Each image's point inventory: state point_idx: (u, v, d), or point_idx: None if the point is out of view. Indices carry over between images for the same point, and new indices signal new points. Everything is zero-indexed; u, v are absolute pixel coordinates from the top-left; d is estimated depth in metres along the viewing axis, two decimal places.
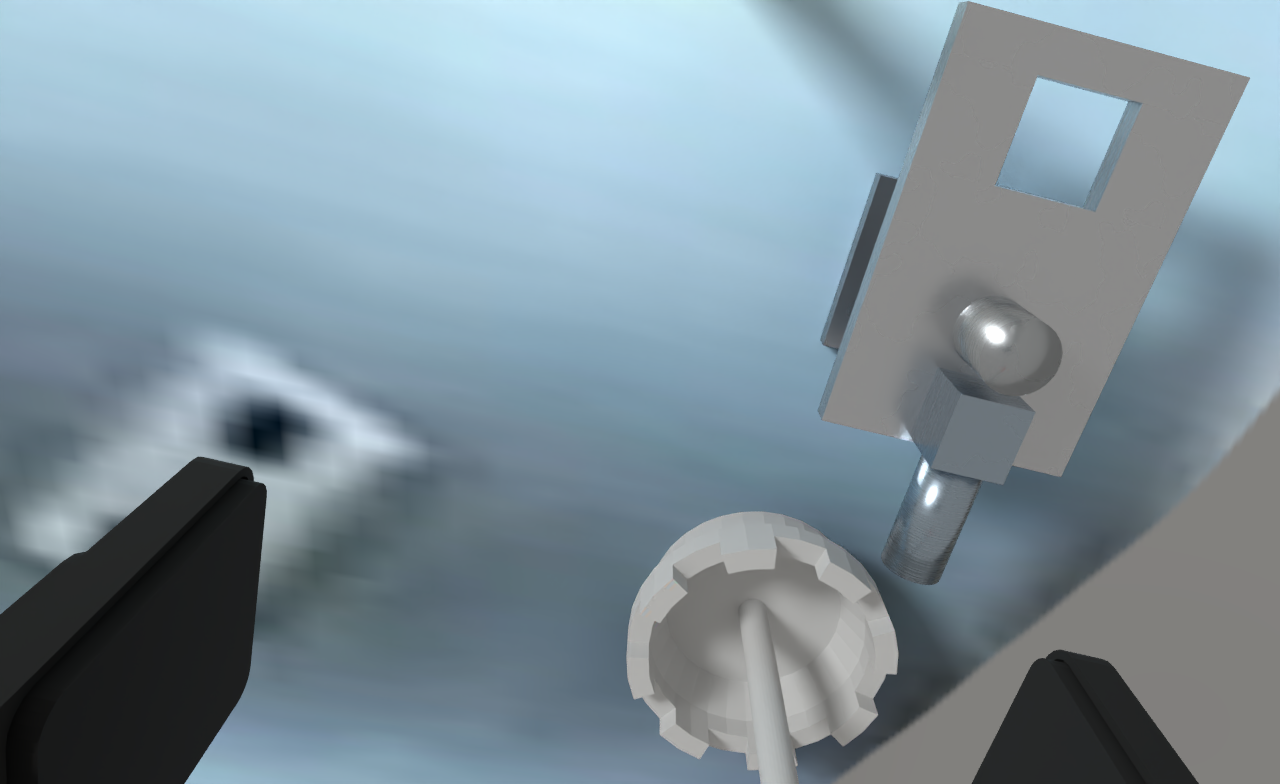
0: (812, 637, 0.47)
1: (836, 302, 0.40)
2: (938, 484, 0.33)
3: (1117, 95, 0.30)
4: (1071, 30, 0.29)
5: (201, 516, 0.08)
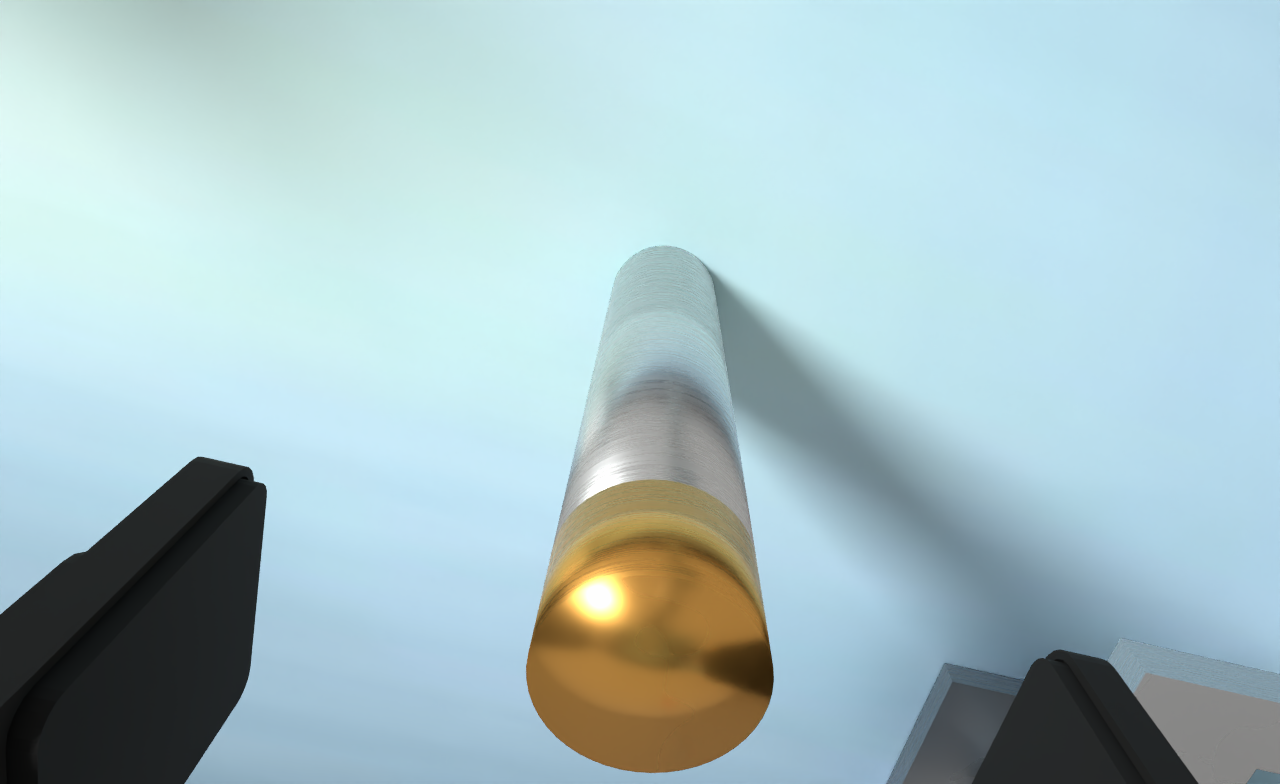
0: None
1: None
2: None
3: None
4: None
5: (201, 516, 0.08)
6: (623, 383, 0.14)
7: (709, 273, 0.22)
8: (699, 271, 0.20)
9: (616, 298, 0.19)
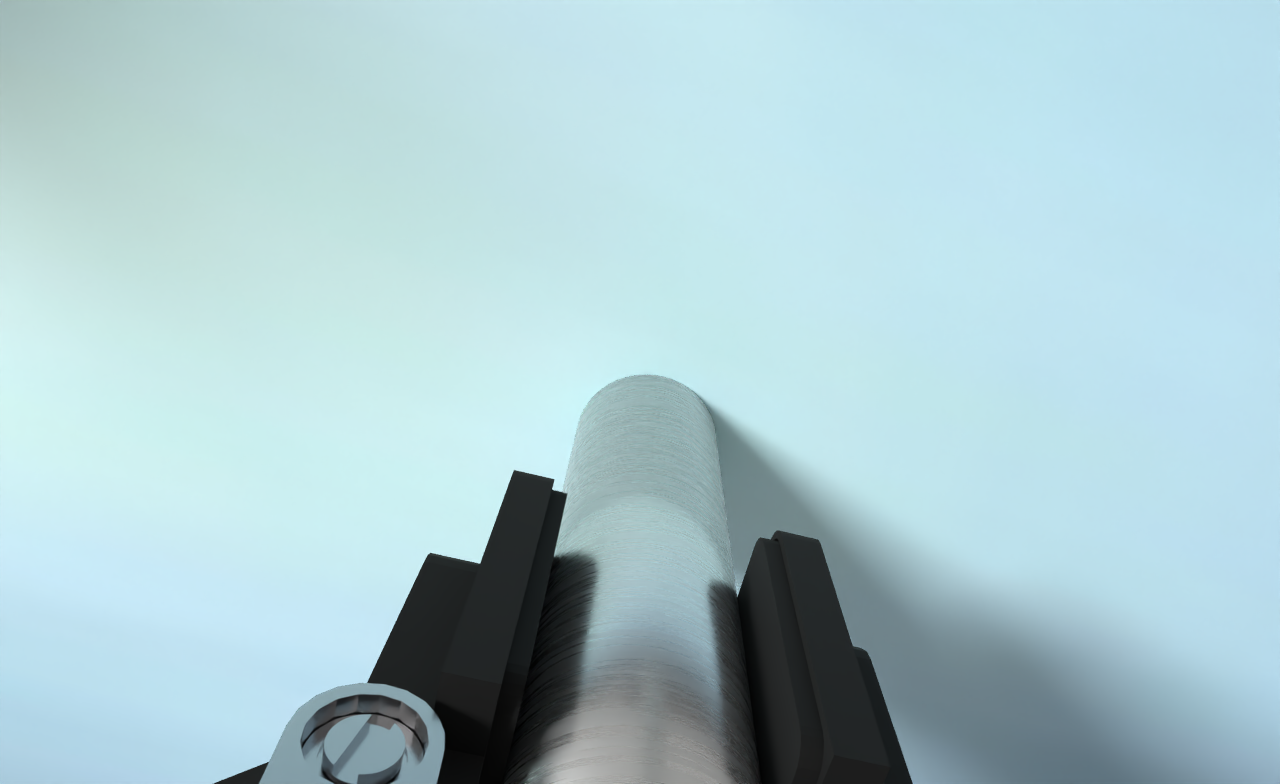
0: None
1: None
2: None
3: None
4: None
5: (544, 523, 0.10)
6: (564, 726, 0.08)
7: None
8: (695, 417, 0.15)
9: (576, 471, 0.13)
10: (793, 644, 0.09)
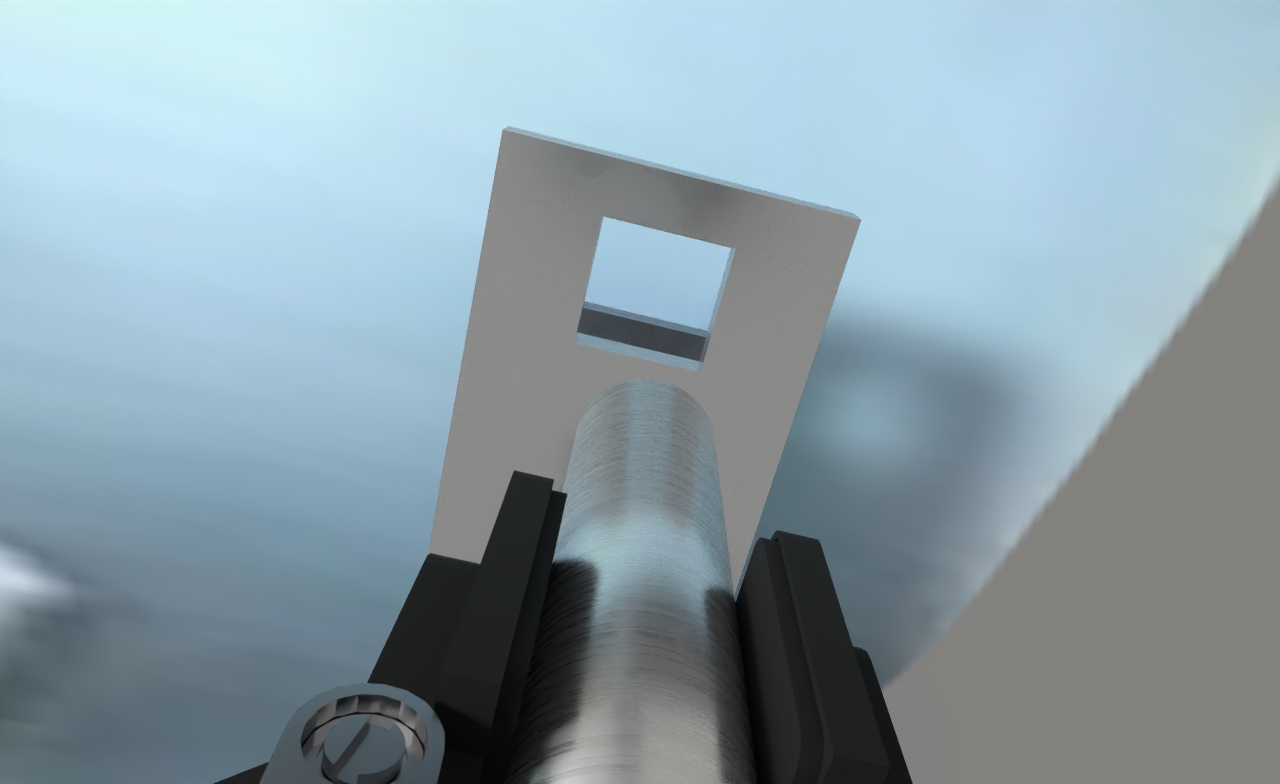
0: None
1: None
2: None
3: (703, 239, 0.24)
4: (634, 164, 0.23)
5: (544, 522, 0.10)
6: (562, 735, 0.08)
7: (707, 415, 0.16)
8: (693, 422, 0.15)
9: (574, 476, 0.13)
10: (793, 644, 0.09)
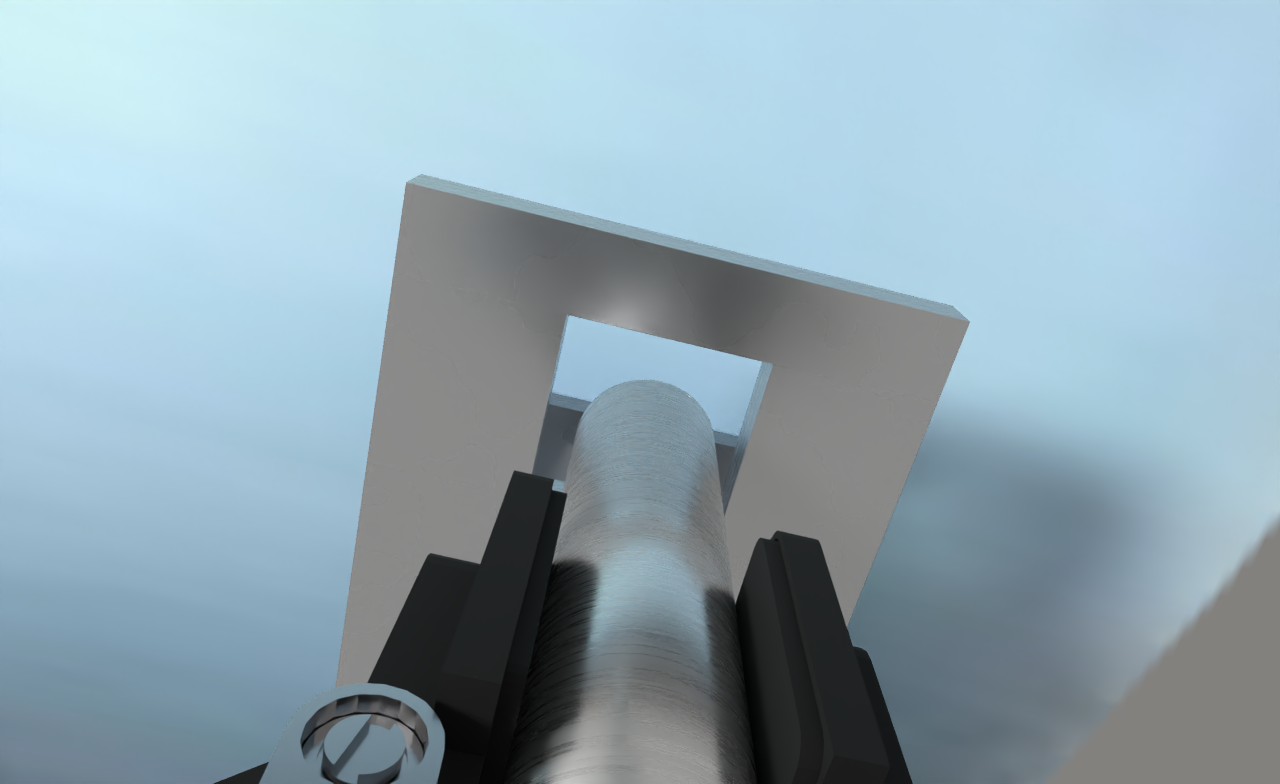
0: None
1: None
2: None
3: (723, 350, 0.16)
4: (615, 236, 0.15)
5: (544, 522, 0.10)
6: (562, 736, 0.08)
7: None
8: (693, 423, 0.15)
9: (574, 477, 0.13)
10: (793, 644, 0.09)
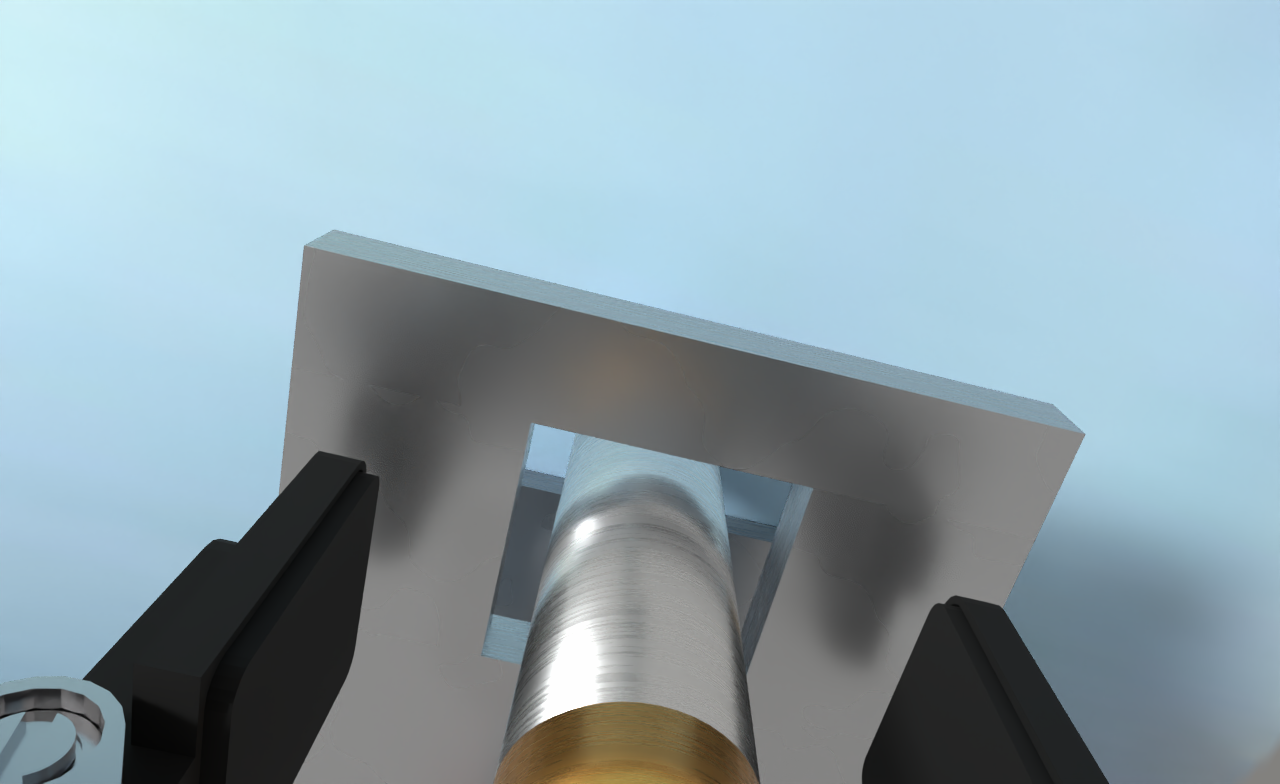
0: None
1: None
2: None
3: (745, 470, 0.11)
4: (596, 319, 0.11)
5: (333, 505, 0.09)
6: (593, 526, 0.11)
7: None
8: None
9: None
10: (1016, 730, 0.08)
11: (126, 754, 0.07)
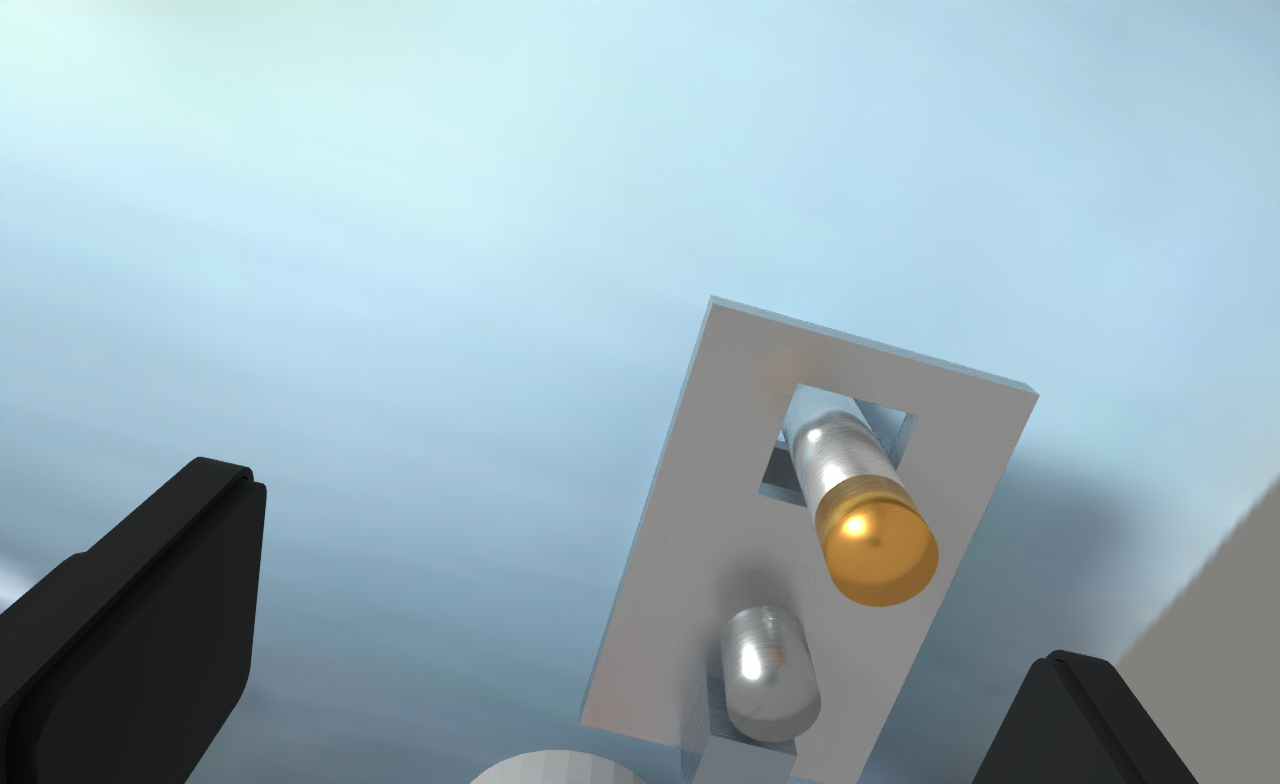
0: None
1: None
2: None
3: (890, 407, 0.26)
4: (832, 338, 0.25)
5: (201, 516, 0.08)
6: (826, 428, 0.25)
7: None
8: None
9: None
10: None
11: None
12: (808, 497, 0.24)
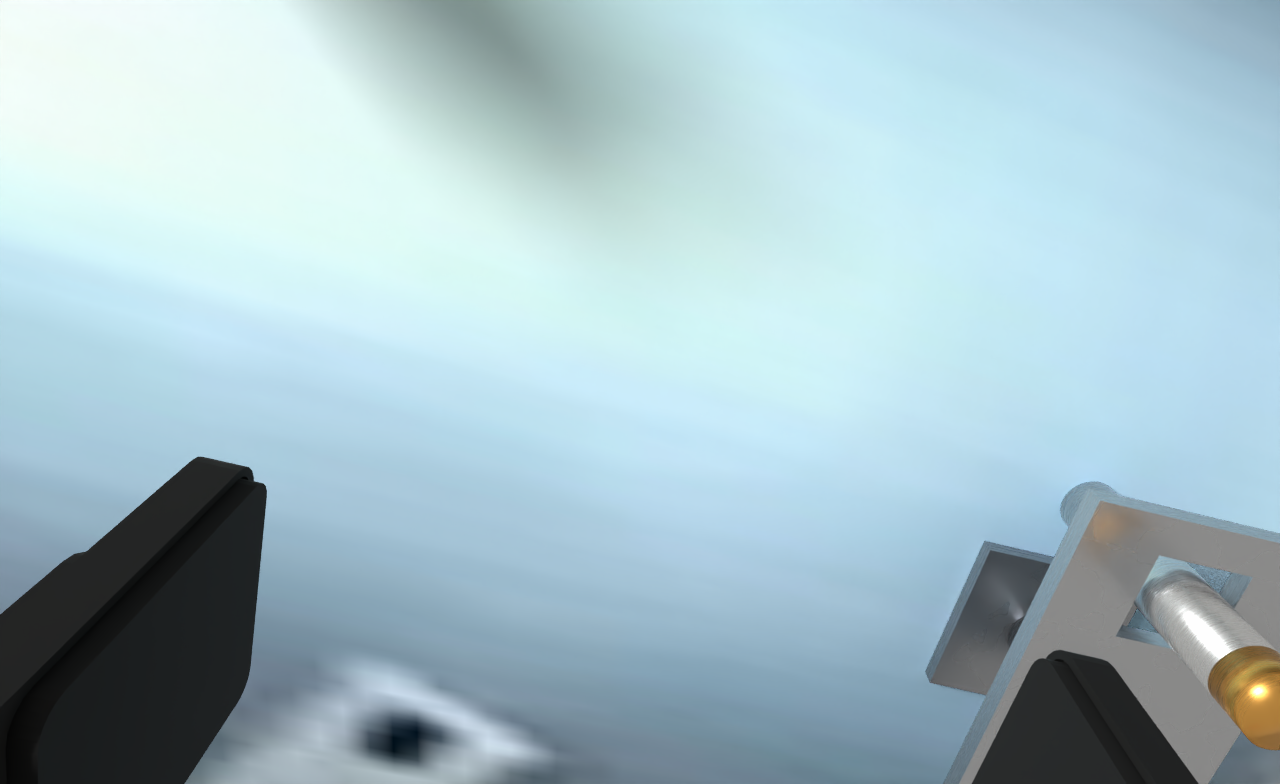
0: None
1: (943, 647, 0.43)
2: None
3: (1230, 571, 0.33)
4: (1191, 523, 0.32)
5: (201, 516, 0.08)
6: (1185, 591, 0.33)
7: None
8: None
9: None
10: None
11: None
12: (1191, 655, 0.31)
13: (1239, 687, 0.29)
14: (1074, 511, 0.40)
